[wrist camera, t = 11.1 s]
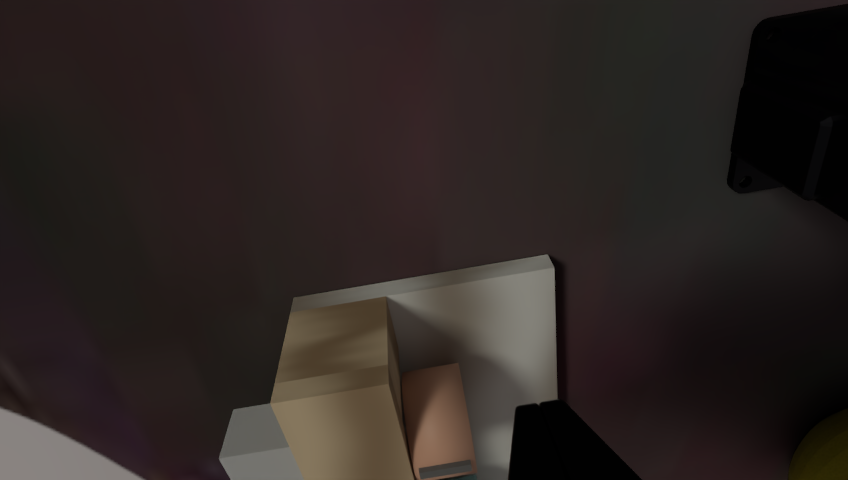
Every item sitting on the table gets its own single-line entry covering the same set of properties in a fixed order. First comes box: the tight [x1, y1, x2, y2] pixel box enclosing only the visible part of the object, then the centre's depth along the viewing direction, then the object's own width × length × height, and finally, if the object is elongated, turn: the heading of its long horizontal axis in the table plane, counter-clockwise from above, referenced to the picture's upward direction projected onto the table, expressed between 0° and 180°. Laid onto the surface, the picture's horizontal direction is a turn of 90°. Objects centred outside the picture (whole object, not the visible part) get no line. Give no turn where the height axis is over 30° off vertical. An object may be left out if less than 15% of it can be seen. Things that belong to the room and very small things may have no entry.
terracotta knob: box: [219, 363, 478, 480], centre depth 22 cm, size 10×4×5 cm, turn 99°
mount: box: [270, 254, 557, 480], centre depth 24 cm, size 11×18×6 cm, turn 9°
